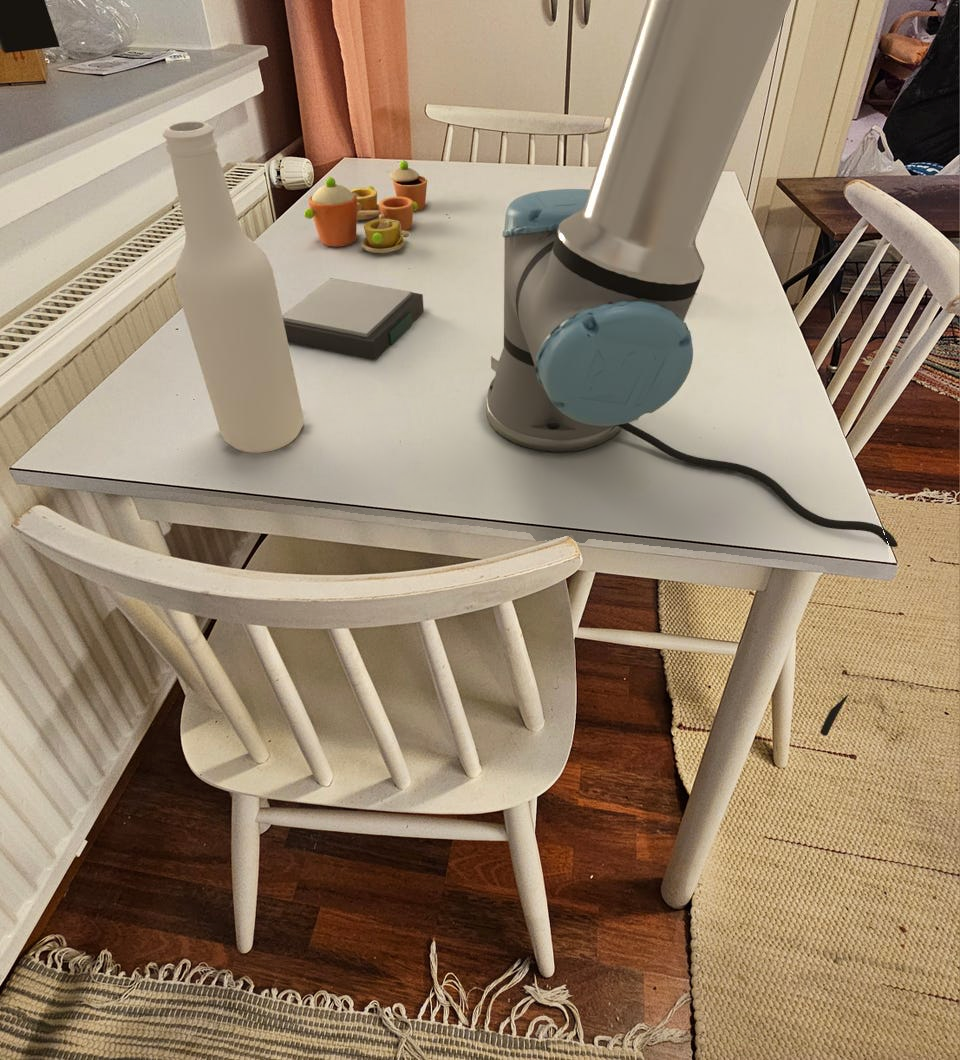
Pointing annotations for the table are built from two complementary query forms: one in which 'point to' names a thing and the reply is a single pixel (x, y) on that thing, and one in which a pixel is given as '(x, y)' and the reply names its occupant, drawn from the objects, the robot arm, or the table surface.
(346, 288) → the scale
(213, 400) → the white bottle
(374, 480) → the table surface
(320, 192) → the toy tea set
